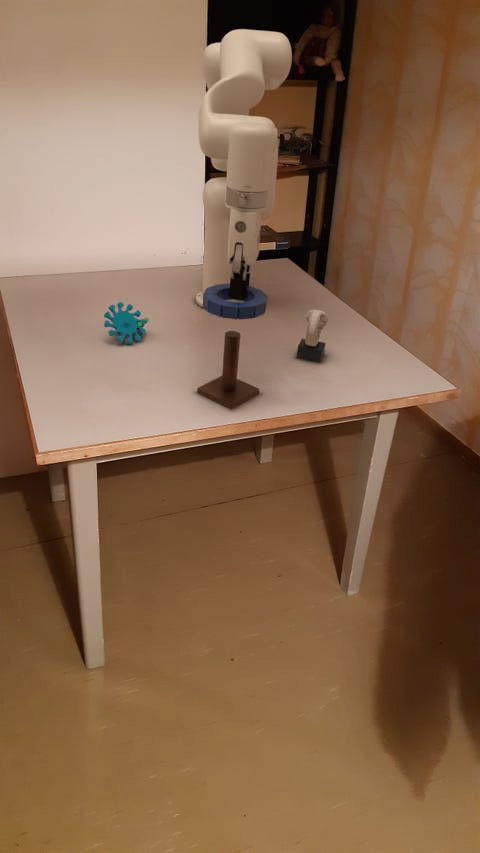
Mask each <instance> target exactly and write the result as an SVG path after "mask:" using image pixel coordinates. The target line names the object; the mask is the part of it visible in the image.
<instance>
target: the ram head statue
mask: <svg viewBox="0 0 480 853" xmlns="http://www.w3.org/2000/svg"><path fill="white" fill-rule="evenodd" d="M304 319H305V320H306V322H307V327H306V332H305V338H301V340H300V341H299V343H298V345H297V350H296V359H299V360H304V361H308V362H309V361H310V362H312V363H313V362H314V363H320V364H321V362H322V360H323V357H324V356H325V351H326V350H325V349H326V343H327V342H323V341H320V338H321V333H322V331H324V328H325V327H326V326H327V324H328V322H329V316H328V314H327V313H326V312H324V311H323V310H320V309H311V310H309V311H307V314H305V315H304Z"/></svg>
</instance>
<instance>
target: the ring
mask: <svg viewBox="0 0 480 853" xmlns="http://www.w3.org/2000/svg"><path fill="white" fill-rule="evenodd" d="M229 291H230V284H218V285H214V286H211V287H208V288H207V289H206V290H205V292H204V293H203V307H204V310H205V311H206V312H207V313H208V314H210V315H213V316H216V317H219V318H222V319H229V320H251V319H256V318H258V317H260V316H263V315H265V314H266V310H267V308H268V298H269V296H268V295H267V294H266V292H264V291H263V290H262V289H260V288H257V287H254V286H251V285H249V286H248V285H247V292H246V299H245V300H240V301H243V302H231V301H226V300H239V299H231V298H230V297H229ZM203 307H202V308H203Z"/></svg>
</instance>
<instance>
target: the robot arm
mask: <svg viewBox="0 0 480 853" xmlns="http://www.w3.org/2000/svg"><path fill="white" fill-rule="evenodd" d="M289 40H290V39H289V38H288V37H287V36H286V35H285V34H284V33H282V32H279V31H270V30H258V29H257V30H256V29H246V28H239V29H238V28H237V29H233V30H231V31H229V32H228V33H226V34H225V35H224V37H223V38H221V41H220V42H214V43H210V44H209V45H207V46H206V47H205V48H204V51H203V56H202V67H203V76H204V80H205V84H206V87H207V92H206V93H205V94H204V96H203V98H202V100H201V102H200V106H199V110H198V142H199V143H198V144H199V148H200V150H201V152H202V154H203V155H204V156H206V157H208V158H210V162H211V164H212V166H213V168H214V169H216V170H218V171H221V172H226V177H225V176H223V177H222V176H221V177H220V176H219V177H214V178H210V179H209V180H208V181H206V182H205V184H204V185H203V190H202V206H203V217H204V218H203V219H204V238H203V239H204V240H203V260H202V261H203V262H202V282H201V283H202V284H201V291H200V292H198V293H197V294H196V295H195V303H196V304H197V305H198V306H200V307H201V308H204V307H203V293H204V292H205V290H206V289H207V288H208V287H211V286H214V285H218V284H230V291H229V297H230V298H231V299H239V300H226V301H231V302H244V301H240V300H245V299H246V292H247V285H248V286H250V278H251V273H250V271H251V268H252V267H253V266H254V265H255V264H256V262H257V259H258V257H259V254H260V246H261V244H260V242H261V227H262V221H266V220H269V219H270V218H271V217H272V215H273V213H274V208H275V201H276V200H275V199H276V187H277V186H276V185H277V176H278V175H277V174H278V163H279V162H278V161H279V144H278V128H277V127H276V126H275V124H274V122H273V121H272V120H271V119H270V118H268V117H264V116H258V115H257V116H256V115H250V109H252V108H255V107H256V106H257V105H258V104H259V103H260V102H261V101H262V99H263V97H264V95H265V91H273V90H277V89H279V87H280V86H281V85H282V84H283V83H284V82H285V80H286V79H287V78H288V76H289V73H290V70H291V67H292V62H293V56H292V55H293V52H292V46H291V43H290V41H289ZM204 309H205V308H204Z"/></svg>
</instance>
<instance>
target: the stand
mask: <svg viewBox="0 0 480 853" xmlns="http://www.w3.org/2000/svg"><path fill="white" fill-rule="evenodd" d="M240 345H241V332H239V331H237V330H228V331H225V332H224V343H223V357H222V371H221V372H222V375H221V376H218V377H216V378H215V379H212V380H210V381H209V382H207V383H205V384H202V385H200V386H198V387H197V389H196V393H197V394H198V395H201V396H203V397H204V398H206V399H209V400H211V401H213V402H215V403H217V404H219V405H221V406H223V407H225V408H227V409H229V410H233V409H235V408H237V407H238V406H240V405H242V404H244V403H245V402H247V401H250V400H251V399H252V398H254V397H256V396H258V395H259V394H260V390H261V389H260V388H259V387H256V386H254V385H252V384H251V383H247V382H245V381H243V380H241V379H239V378H238V370H239V360H240V359H239V358H240Z"/></svg>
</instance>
